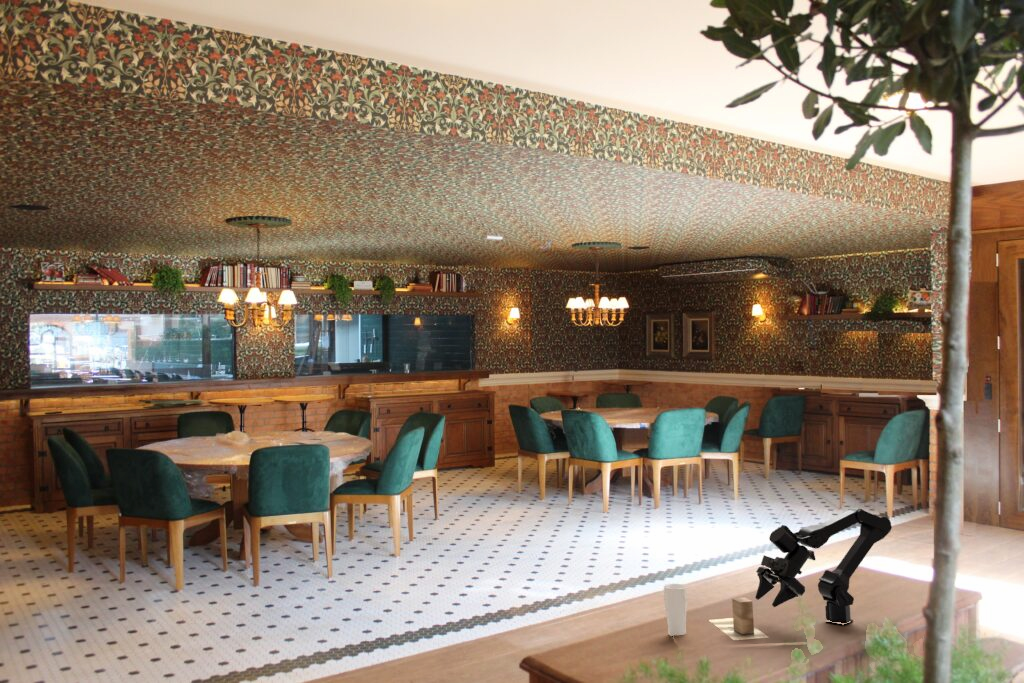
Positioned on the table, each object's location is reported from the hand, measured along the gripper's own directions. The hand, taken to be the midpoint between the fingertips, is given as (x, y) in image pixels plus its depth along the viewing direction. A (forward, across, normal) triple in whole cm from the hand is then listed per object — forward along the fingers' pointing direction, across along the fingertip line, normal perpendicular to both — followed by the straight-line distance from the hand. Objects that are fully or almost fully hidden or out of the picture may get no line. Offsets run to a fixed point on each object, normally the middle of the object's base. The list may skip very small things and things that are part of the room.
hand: (764, 602), depth 262 cm
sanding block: (+11, 0, 0) cm, 11 cm away
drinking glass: (+25, -8, -12) cm, 29 cm away
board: (+12, -5, +1) cm, 13 cm away
